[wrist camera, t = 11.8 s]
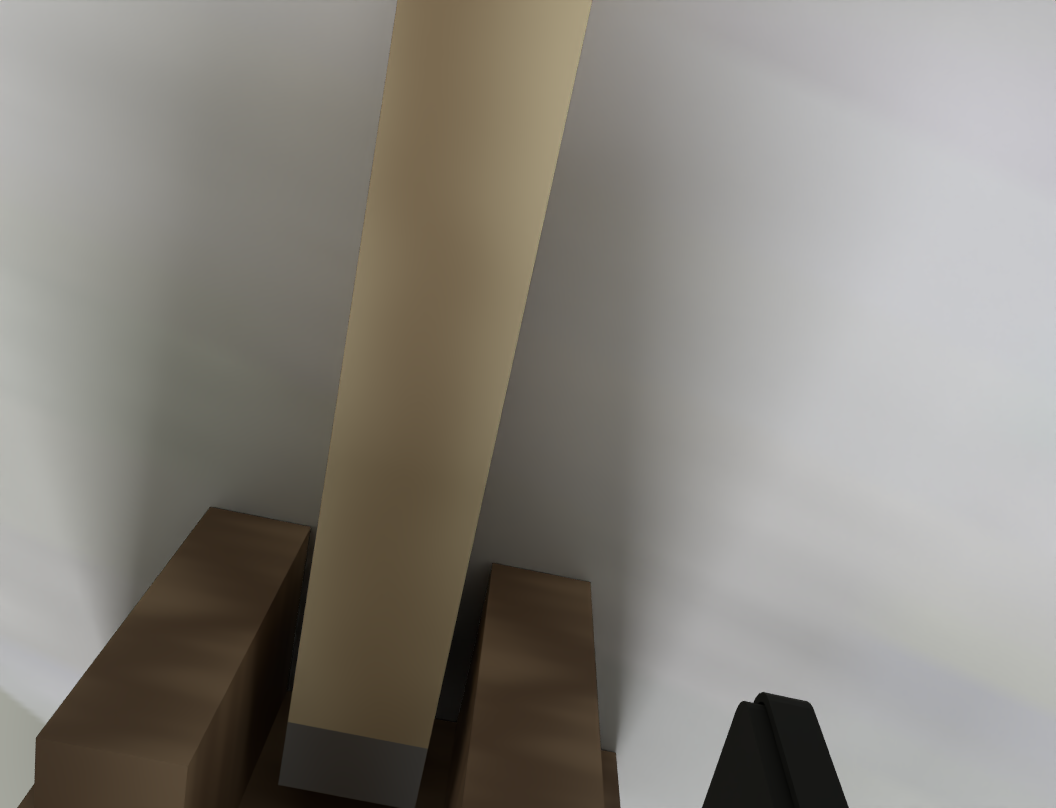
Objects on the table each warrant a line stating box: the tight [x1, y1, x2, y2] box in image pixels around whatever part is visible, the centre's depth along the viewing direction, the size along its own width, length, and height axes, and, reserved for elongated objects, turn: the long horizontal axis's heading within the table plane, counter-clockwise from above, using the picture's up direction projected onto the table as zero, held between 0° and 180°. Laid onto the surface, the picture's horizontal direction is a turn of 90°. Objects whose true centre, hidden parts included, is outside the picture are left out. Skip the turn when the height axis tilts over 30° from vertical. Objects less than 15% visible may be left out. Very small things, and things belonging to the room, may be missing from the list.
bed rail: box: [278, 0, 592, 808], centre depth 23 cm, size 4×22×6 cm, turn 168°
